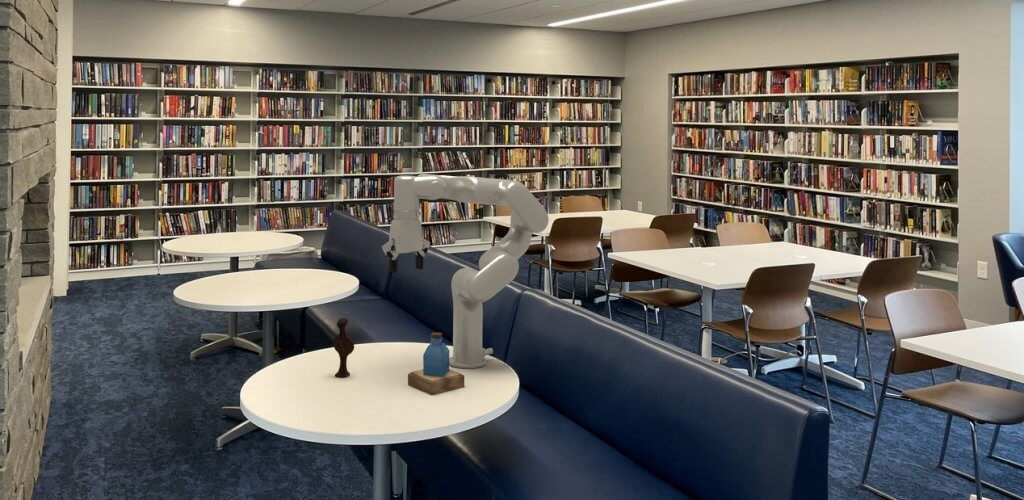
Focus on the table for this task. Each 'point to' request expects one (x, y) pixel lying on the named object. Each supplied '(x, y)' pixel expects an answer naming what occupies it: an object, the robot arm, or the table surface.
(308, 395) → the table surface
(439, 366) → the perfume bottle
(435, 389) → the pedestal
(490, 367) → the table surface
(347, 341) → the figurine
